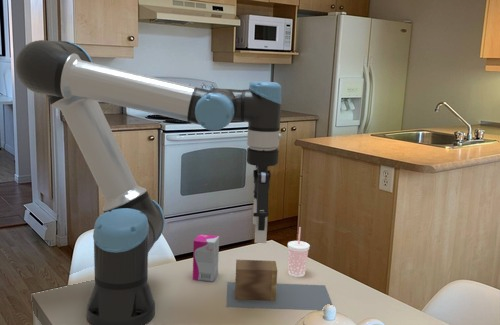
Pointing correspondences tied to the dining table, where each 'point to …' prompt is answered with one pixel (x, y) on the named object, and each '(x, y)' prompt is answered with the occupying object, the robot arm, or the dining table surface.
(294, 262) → the beverage cup
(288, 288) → the slate mat
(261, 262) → the walnut block
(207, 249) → the supplement box
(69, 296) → the dining table surface
